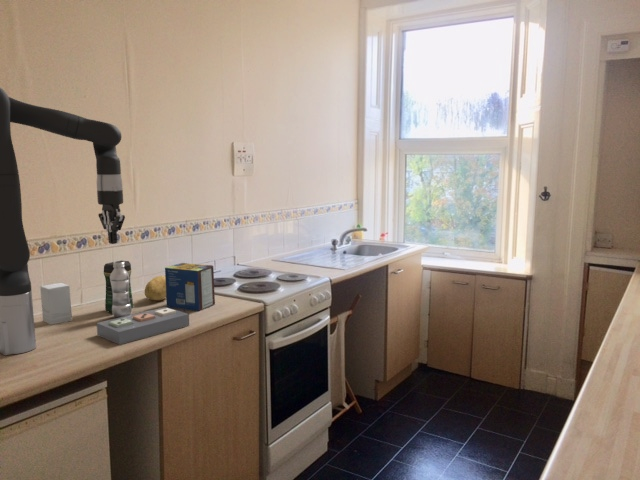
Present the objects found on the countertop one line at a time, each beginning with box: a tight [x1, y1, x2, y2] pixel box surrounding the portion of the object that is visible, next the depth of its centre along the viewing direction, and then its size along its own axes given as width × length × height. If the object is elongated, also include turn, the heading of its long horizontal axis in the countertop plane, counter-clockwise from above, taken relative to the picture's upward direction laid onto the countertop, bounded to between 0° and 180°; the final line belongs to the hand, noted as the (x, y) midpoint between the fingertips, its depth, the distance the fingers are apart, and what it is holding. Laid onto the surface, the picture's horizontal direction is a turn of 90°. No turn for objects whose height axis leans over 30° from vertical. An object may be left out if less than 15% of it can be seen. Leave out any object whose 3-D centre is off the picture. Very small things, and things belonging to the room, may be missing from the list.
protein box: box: [164, 262, 216, 312], centre depth 201 cm, size 10×15×16 cm
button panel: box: [96, 306, 190, 346], centre depth 172 cm, size 25×14×4 cm, turn 139°
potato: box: [144, 275, 166, 301], centre depth 211 cm, size 10×14×10 cm
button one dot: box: [155, 307, 177, 316], centre depth 178 cm, size 5×5×5 cm
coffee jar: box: [103, 259, 134, 314], centre depth 195 cm, size 10×8×19 cm
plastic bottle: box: [110, 260, 133, 318], centre depth 186 cm, size 6×7×20 cm
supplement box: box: [39, 282, 73, 326], centre depth 182 cm, size 7×7×13 cm
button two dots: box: [110, 318, 133, 328], centre depth 166 cm, size 5×5×5 cm
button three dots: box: [133, 313, 155, 322], centre depth 172 cm, size 5×5×5 cm
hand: (113, 243), depth 167 cm, fingers closed
